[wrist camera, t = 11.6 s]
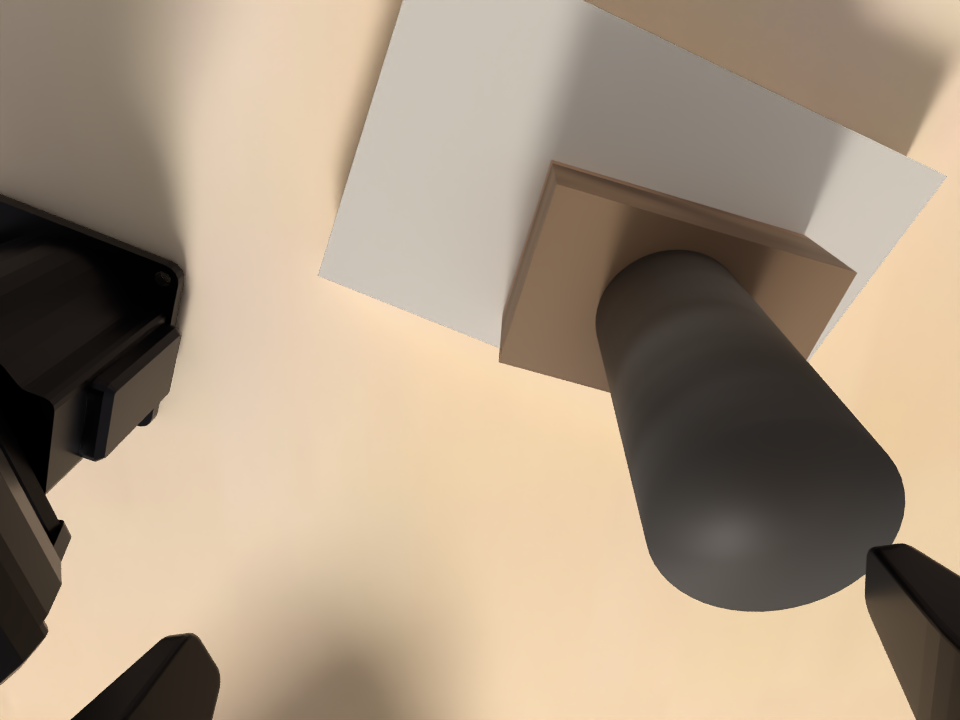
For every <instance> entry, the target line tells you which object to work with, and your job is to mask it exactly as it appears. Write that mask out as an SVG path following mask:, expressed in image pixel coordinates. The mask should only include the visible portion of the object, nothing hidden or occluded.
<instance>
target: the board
mask: <svg viewBox="0 0 960 720" xmlns="http://www.w3.org/2000/svg"><path fill="white" fill-rule="evenodd" d="M551 160H554V161H558V162H561V163H564V164H568V165H571V166H574V167H578V168H581V169H585V170H588V171H591V172H595V173H598V174H601V175H605V176H608V177H611V178H615V179H618V180H622V181H625V182H628V183H632V184H635V185H638V186H642V187H645V188H648V189H652V190H655V191H659V192H662V193H665V194H669V195H672V196H675V197H679V198H682V199H685V200H689V201H692V202H696V203H699V204H702V205H706V206H709V207H712V208H716V209H719V210H722V211H726V212H729V213H733V214H736V215H739V216H743V217H746V218H749V219H753V220H756V221H759V222H763V223H766V224H769V225H773V226H776V227H780V228H783V229H786V230H790V231H793V232H796V233H800V234H803V235H805V236H807V237H808V238H810V239H811V240H812V241H814V242H815V243H817V244H818V245H819V246H821V247H822V248H824V249H825V250H826V251H828V252H829V253H831V254H832V255H833V256H835V257H836V258H837V259H839V260H840V261H842V262H843V263H844V264H846V265H847V266H849V267H850V268H851V269H853V270H854V271H856V272H857V274H856V276H855V278H854V279H853V281H852V283H851V285H850V286H849V288H848V290H847V291H846V293H845V295H844V297H843V298H842V300H841V302H840V303H839V305H838V307H837V309H836V310H835V312H834V314H833V315H832V317H831V319H830V321H829V322H828V324H827V326H826V327H825V329H824V331H823V333H822V334H821V336H820V338H819V339H818V341H817V343H816V345H815V346H814V348H813V350H812V351H811V353H810V355H809V357H808V358H807V362H808V361H809V360H810V358H811V357H812V356H813V354H814V353H815V352H816V350H817V349H818V348H819V346H820V345H821V344H822V342H823V341H824V340H825V338H826V337H827V336H828V334H829V333H830V332H831V330H832V329H833V328H834V326H835V325H836V324H837V322H838V321H839V320H840V318H841V317H842V316H843V314H844V313H845V312H846V310H847V309H848V308H849V306H850V305H851V304H852V302H853V301H854V300H855V298H856V297H857V296H858V294H859V293H860V292H861V290H862V289H863V288H864V286H865V285H866V284H867V282H868V281H869V280H870V278H871V277H872V276H873V274H874V273H875V272H876V270H877V269H878V268H879V266H880V265H881V264H882V262H883V261H884V260H885V258H886V257H887V256H888V254H889V253H890V252H891V250H892V249H893V248H894V246H895V245H896V244H897V242H898V241H899V240H900V238H901V237H902V236H903V234H904V233H905V232H906V230H907V229H908V228H909V226H910V225H911V224H912V222H913V221H914V220H915V218H916V217H917V216H918V214H919V213H920V212H921V210H922V209H923V208H924V206H925V205H926V204H927V202H928V201H929V200H930V199H931V197H932V196H933V195H934V193H935V192H936V191H937V189H938V188H939V187H940V185H941V184H942V183H943V181H944V180H945V179H946V177H947V176H946V175H944V174H942V173H940V172H938V171H936V170H933V169H931V168H929V167H927V166H925V165H923V164H921V163H919V162H917V161H915V160H913V159H911V158H909V157H907V156H904V155H902V154H900V153H898V152H896V151H894V150H892V149H890V148H888V147H886V146H884V145H882V144H880V143H878V142H876V141H873V140H871V139H869V138H867V137H865V136H863V135H861V134H859V133H857V132H855V131H853V130H851V129H849V128H847V127H844V126H842V125H840V124H838V123H836V122H834V121H832V120H830V119H828V118H826V117H824V116H822V115H820V114H818V113H815V112H813V111H811V110H809V109H807V108H805V107H803V106H801V105H799V104H797V103H795V102H793V101H791V100H789V99H787V98H784V97H782V96H780V95H778V94H776V93H774V92H772V91H770V90H768V89H766V88H764V87H762V86H760V85H758V84H755V83H753V82H751V81H749V80H747V79H745V78H743V77H741V76H739V75H737V74H735V73H733V72H731V71H729V70H727V69H724V68H722V67H720V66H718V65H716V64H714V63H712V62H710V61H708V60H706V59H704V58H702V57H700V56H698V55H695V54H693V53H691V52H689V51H687V50H685V49H683V48H681V47H679V46H677V45H675V44H673V43H671V42H669V41H666V40H664V39H662V38H660V37H658V36H656V35H654V34H652V33H650V32H648V31H646V30H644V29H642V28H640V27H638V26H635V25H633V24H631V23H629V22H627V21H625V20H623V19H621V18H619V17H617V16H615V15H613V14H611V13H609V12H606V11H604V10H602V9H600V8H598V7H596V6H594V5H592V4H590V3H588V2H586V1H584V0H403V2H402V5H401V8H400V11H399V15H398V18H397V21H396V24H395V28H394V31H393V34H392V37H391V41H390V44H389V47H388V50H387V54H386V57H385V60H384V63H383V66H382V70H381V73H380V76H379V79H378V83H377V86H376V89H375V92H374V96H373V99H372V102H371V105H370V109H369V112H368V115H367V118H366V122H365V125H364V128H363V131H362V134H361V138H360V141H359V144H358V147H357V151H356V154H355V157H354V160H353V164H352V167H351V170H350V173H349V177H348V180H347V183H346V186H345V189H344V193H343V196H342V199H341V202H340V206H339V209H338V212H337V215H336V219H335V222H334V225H333V228H332V232H331V235H330V238H329V241H328V245H327V248H326V251H325V254H324V257H323V261H322V264H321V267H320V270H319V274H318V276H320V277H322V278H325V279H327V280H330V281H332V282H335V283H337V284H340V285H342V286H345V287H347V288H350V289H352V290H355V291H357V292H360V293H362V294H365V295H367V296H370V297H372V298H375V299H377V300H380V301H382V302H385V303H387V304H390V305H392V306H395V307H397V308H400V309H402V310H405V311H407V312H410V313H412V314H415V315H417V316H420V317H422V318H425V319H428V320H430V321H433V322H435V323H438V324H440V325H443V326H445V327H448V328H450V329H453V330H455V331H458V332H460V333H463V334H465V335H468V336H470V337H473V338H475V339H478V340H480V341H483V342H485V343H488V344H490V345H493V346H495V347H498V348H500V339H501V326H502V314H503V311H504V308H505V305H506V302H507V299H508V295H509V292H510V289H511V286H512V283H513V280H514V276H515V273H516V270H517V267H518V264H519V261H520V258H521V254H522V251H523V248H524V245H525V242H526V239H527V235H528V232H529V229H530V226H531V223H532V220H533V217H534V213H535V210H536V207H537V204H538V201H539V198H540V194H541V191H542V188H543V185H544V182H545V179H546V176H547V172H548V169H549V166H550V163H551Z"/></svg>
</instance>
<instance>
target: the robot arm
mask: <svg viewBox="0 0 960 720" xmlns="http://www.w3.org/2000/svg"><path fill="white" fill-rule="evenodd" d="M161 272H165V273H166V274H168V275H169V277H170V279H171V282H167V281H165V280H164V279H163V277H162V276H161ZM183 285H184V274H183V271H182V269H181V268H180V267H179V266H178V265H177V264H176V263H174V262H172V261H170V260H167V259H165V258H162V257H160V256H157V255H155V254H152V253H149V252H147V251H144V250H142V249H139V248H137V247H134V246H131V245H129V244H126V243H124V242H121V241H119V240H116V239H114V238H111V237H108V236H106V235H103V234H101V233H98V232H96V231H93V230H90V229H88V228H85V227H83V226H80V225H78V224H75V223H73V222H70V221H67V220H65V219H62V218H60V217H57V216H55V215H52V214H49V213H47V212H44V211H42V210H39V209H37V208H34V207H31V206H29V205H26V204H24V203H21V202H19V201H16V200H14V199H11V198H8V197H6V196H3V195H1V194H0V685H1V684H3V683H4V682H5V681H6V680H7V679H8V678H9V677H10V676H12V675H13V674H14V673H15V672H16V671H17V670H18V669H19V668H20V667H21V666H22V665H23V664H24V663H25V662H26V660H27V659H28V658H29V657H30V656H31V654H32V653H33V652H34V651H35V650H36V649H37V647H38V646H39V645H40V644H41V642H42V641H43V640H44V638H45V637H46V635H47V633H48V627H47V625H46V623H45V621H44V620H45V618H46V617H47V615H48V613H49V611H50V609H51V607H52V604H53V602H54V600H55V598H56V596H57V593H58V591H59V589H60V587H61V585H62V581H61V561H62V559H63V556H64V554H65V551H66V549H67V546H68V544H69V542H70V539H71V534H70V533H69V531H68V529H67V527H66V525H65V523H64V521H63V520H58V519H57V517H56V515H55V513H54V511H53V509H52V507H51V505H50V503H49V501H48V499H47V497H46V494H47V493H48V492H49V491H50V490H51V489H52V488H53V487H54V486H55V485H56V484H57V483H58V482H59V481H60V480H61V479H62V478H63V477H64V476H65V475H66V474H67V473H68V472H69V471H70V470H71V469H72V468H73V467H74V466H76V465H77V464H78V463H79V462H80V461H81V460H82V459H83V458H86V459H89V460H92V461H95V462H96V461H99V460H101V459H103V458H106V457H107V456H108V455H109V454H110V453H111V452H112V451H113V450H114V449H115V448H116V447H117V446H118V444H119V443H120V442H121V441H122V440H123V439H124V438H125V437H126V436H127V435H128V434H129V433H130V432H131V431H132V430H133V429H134V428H135V427H136V426H146V425H148V424H149V423H150V422H151V421H152V420H153V419H154V418H155V417H156V415H157V413H158V408H159V403H160V401H161V400H162V399H163V398H164V397H165V396H166V395H167V394H168V393H169V391H170V387H171V382H172V377H173V372H174V367H175V363H176V358H177V353H178V348H179V344H180V339H181V334H180V332H179V330H178V328H177V327H175V324H176V319H177V314H178V309H179V304H180V300H181V295H182V290H183ZM865 600H866V605H867V609H868V612H869V614H870V617H871V619H872V622H873V624H874V626H875V628H876V631H877V633H878V635H879V637H880V640H881V642H882V644H883V646H884V649H885V651H886V653H887V655H888V658H889V660H890V662H891V664H892V667H893V669H894V671H895V673H896V676H897V678H898V680H899V682H900V685H901V687H902V689H903V691H904V694H905V696H906V698H907V700H908V703H909V705H910V707H911V709H912V712H913V714H914V716H915V718H916V720H960V576H959V575H957V574H956V573H954V572H952V571H951V570H949V569H948V568H946V567H944V566H943V565H941V564H940V563H938V562H936V561H935V560H933V559H931V558H930V557H928V556H927V555H925V554H923V553H922V552H920V551H919V550H917V549H915V548H914V547H912V546H909V545H907V544H892V545H884V546H876V547H872V548H870V549H869V551H868V552H867V557H866V579H865ZM219 689H220V673H219V669H218V667H217V666H216V664H215V662H214V661H213V659H212V658H211V656H210V654H209V653H208V651H207V649H206V648H205V646H204V645H203V643H202V641H201V640H200V638H199V637H198V636H197V635H195V634H193V633H185V634H177V635H170V636H167V637H165V638H163V639H161V640H160V641H159V642H158V643H157V644H156V645H154V646H153V647H152V648H151V649H150V650H149V651H148V652H147V653H145V654H144V655H143V656H142V657H141V658H140V659H139V660H137V661H136V662H135V663H134V664H133V665H132V666H131V667H130V668H128V669H127V670H126V671H125V672H124V673H123V674H122V675H121V676H119V677H118V678H117V679H116V680H115V681H114V682H113V683H112V684H110V685H109V686H108V687H107V688H106V689H105V690H104V691H103V692H101V693H100V694H99V695H98V696H97V697H96V698H95V699H93V700H92V701H91V702H90V703H89V704H88V705H87V706H86V707H84V708H83V709H82V710H81V711H80V712H79V713H78V714H77V715H75V716H74V717H73V718H72V719H71V720H212V718H213V714H214V710H215V706H216V702H217V697H218V693H219Z"/></svg>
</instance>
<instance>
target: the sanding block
mask: <svg viewBox="0 0 960 720" xmlns="http://www.w3.org/2000/svg"><path fill="white" fill-rule="evenodd" d="M856 274H857V272H856V271H854V270H853V269H851V268H850V267H849V266H847V265H846V264H844V263H843V262H842V261H840V260H839V259H837V258H836V257H835V256H833V255H832V254H831V253H829V252H828V251H826V250H825V249H824V248H822V247H821V246H819V245H818V244H817V243H815V242H814V241H812V240H811V239H810V238H808V237H807V236H805V235H803V234H800V233H796V232H793V231H790V230H786V229H783V228H780V227H776V226H773V225H769V224H766V223H763V222H759V221H756V220H753V219H749V218H746V217H743V216H739V215H736V214H733V213H729V212H726V211H722V210H719V209H716V208H712V207H709V206H706V205H702V204H699V203H696V202H692V201H689V200H685V199H682V198H679V197H675V196H672V195H669V194H665V193H662V192H659V191H655V190H652V189H648V188H645V187H642V186H638V185H635V184H632V183H628V182H625V181H622V180H618V179H615V178H611V177H608V176H605V175H601V174H598V173H595V172H591V171H588V170H585V169H581V168H578V167H574V166H571V165H568V164H564V163H561V162H558V161H554V160H551V163H550V166H549V169H548V172H547V176H546V179H545V182H544V185H543V188H542V191H541V194H540V198H539V201H538V204H537V207H536V210H535V213H534V217H533V220H532V223H531V226H530V229H529V232H528V235H527V239H526V242H525V245H524V248H523V251H522V254H521V258H520V261H519V264H518V267H517V270H516V273H515V276H514V280H513V283H512V286H511V289H510V292H509V295H508V299H507V302H506V305H505V308H504V311H503V314H502V326H501V339H500V352H499V362H500V363H504V364H508V365H511V366H515V367H518V368H522V369H526V370H529V371H533V372H537V373H540V374H544V375H548V376H551V377H555V378H559V379H562V380H566V381H570V382H573V383H577V384H581V385H584V386H588V387H592V388H595V389H599V390H603V391H606V392H610V393H611V397H612V402H613V406H614V410H615V414H616V418H617V422H618V427H619V431H620V435H621V439H622V443H623V447H624V452H625V456H626V460H627V464H628V468H629V473H630V477H631V481H632V485H633V489H634V493H635V498H636V502H637V506H638V510H639V514H640V518H641V523H642V527H643V531H644V535H645V539H646V543H647V547H648V550H649V554H650V556H651V558H652V560H653V562H654V564H655V566H656V567H657V568H658V570H659V571H660V573H661V574H662V575H663V576H664V577H665V578H666V579H667V580H668V581H669V582H670V583H671V584H672V585H673V586H675V587H676V588H677V589H679V590H680V591H681V592H683V593H685V594H687V595H688V596H690V597H692V598H694V599H696V600H699V601H701V602H703V603H706V604H709V605H712V606H716V607H720V608H725V609H730V610H737V611H754V612H763V611H775V610H783V609H788V608H794V607H798V606H802V605H805V604H809V603H812V602H815V601H818V600H820V599H823V598H826V597H828V596H830V595H832V594H834V593H836V592H838V591H840V590H842V589H844V588H845V587H847V586H849V585H850V584H852V583H854V582H855V581H856V580H858V579H859V578H860V577H862V576H863V575H865V574H866V557H867V552H868V551H869V549H870V548H872V547H876V546H884V545H891V544H892V543H893V541H894V539H895V537H896V535H897V533H898V531H899V529H900V526H901V523H902V519H903V516H904V508H905V492H904V487H903V483H902V478H901V476H900V474H899V472H898V470H897V467H896V465H895V464H894V463H893V461H892V460H891V458H890V457H889V456H888V454H887V453H886V452H885V451H884V450H883V448H882V447H881V446H880V445H879V444H878V443H877V442H876V440H875V439H874V438H873V437H872V436H871V435H870V433H869V432H868V431H867V430H866V429H865V428H864V426H863V425H862V424H861V423H860V422H859V421H858V420H857V418H856V417H855V416H854V415H853V414H852V413H851V411H850V410H849V409H848V408H847V407H846V406H845V404H844V403H843V402H842V401H841V400H840V399H839V398H838V396H837V395H836V394H835V393H834V392H833V391H832V389H831V388H830V387H829V386H828V385H827V384H826V382H825V381H824V380H823V379H822V378H821V377H820V376H819V374H818V373H817V372H816V371H815V370H814V369H813V367H812V366H811V365H810V364H809V363H808V362H807V358H808V357H809V355H810V353H811V351H812V350H813V348H814V346H815V345H816V343H817V341H818V339H819V338H820V336H821V334H822V333H823V331H824V329H825V327H826V326H827V324H828V322H829V321H830V319H831V317H832V315H833V314H834V312H835V310H836V309H837V307H838V305H839V303H840V302H841V300H842V298H843V297H844V295H845V293H846V291H847V290H848V288H849V286H850V285H851V283H852V281H853V279H854V278H855V276H856Z"/></svg>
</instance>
